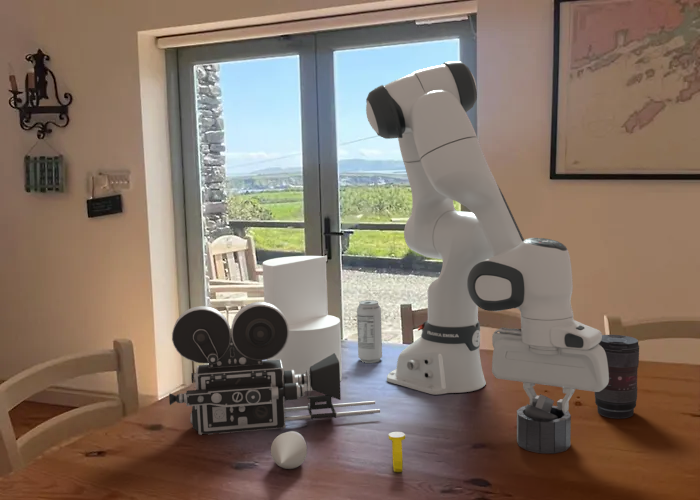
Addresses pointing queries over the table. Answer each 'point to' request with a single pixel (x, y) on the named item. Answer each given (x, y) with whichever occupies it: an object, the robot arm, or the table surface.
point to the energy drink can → (369, 331)
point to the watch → (397, 450)
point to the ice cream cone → (289, 450)
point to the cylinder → (302, 311)
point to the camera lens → (619, 377)
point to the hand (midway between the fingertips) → (548, 408)
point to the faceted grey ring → (544, 432)
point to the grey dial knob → (541, 409)
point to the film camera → (248, 371)
